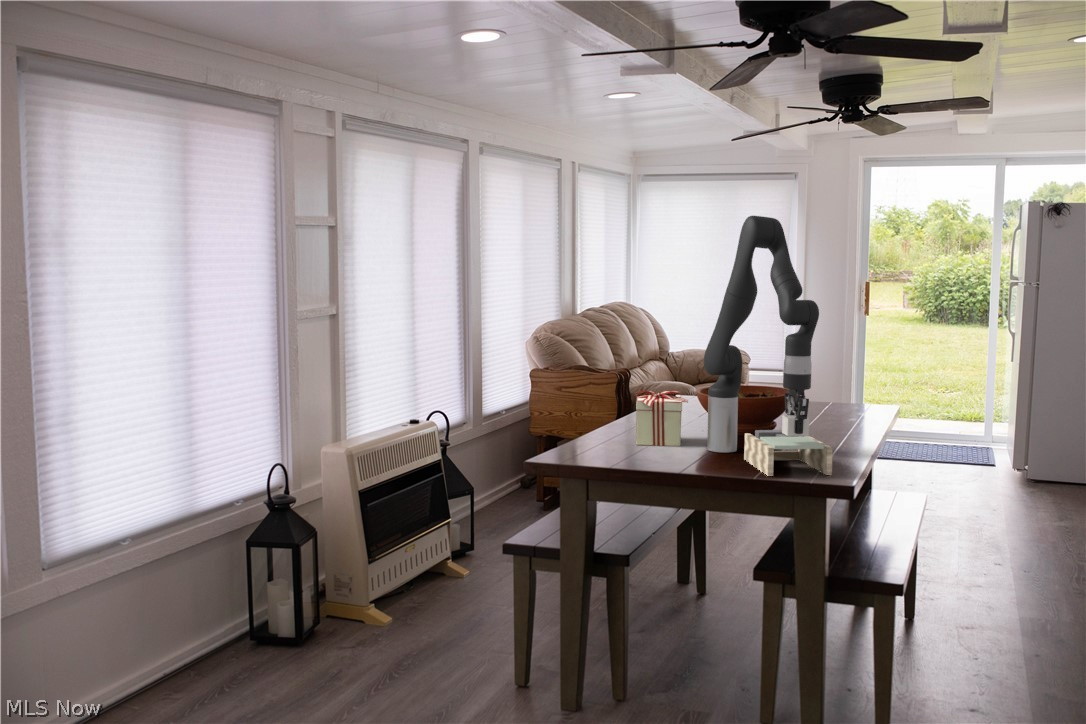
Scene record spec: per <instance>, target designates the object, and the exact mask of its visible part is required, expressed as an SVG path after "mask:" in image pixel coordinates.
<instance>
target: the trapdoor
mask: <svg viewBox="0 0 1086 724" xmlns="http://www.w3.org/2000/svg"><path fill="white" fill-rule="evenodd" d="M754 436H755V437H757V438H758V439H760V440H762V441H763V442H765V443H766V444H768V445H770V446H771V447H773V448H774V450H798V449H824V445H823V444H821V443H819V442H817V441H815V440H813V439H811V438H809V437H807V436H803V437H799V436H787V435H785V434H783V433H782V429H759V430H758V429H755V431H754Z"/></svg>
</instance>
